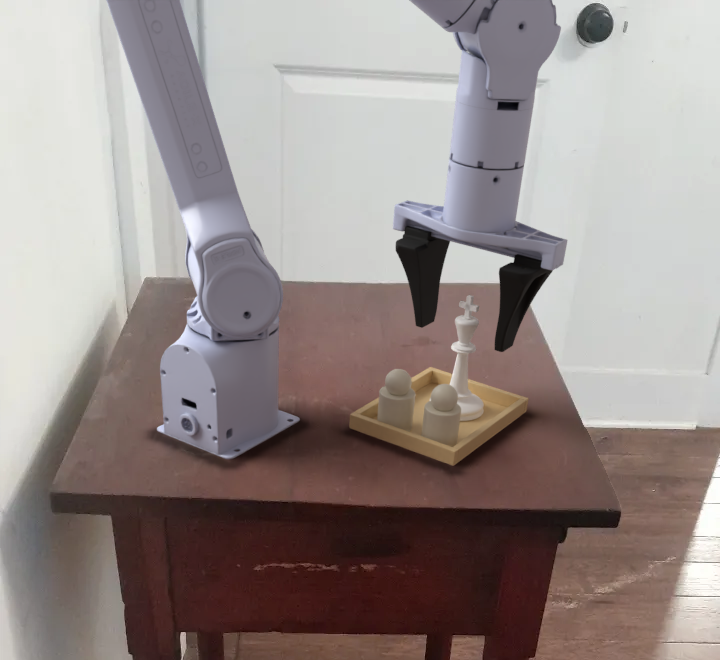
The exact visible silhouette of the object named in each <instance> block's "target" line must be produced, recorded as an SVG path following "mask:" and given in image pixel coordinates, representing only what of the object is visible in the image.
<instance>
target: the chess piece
mask: <svg viewBox="0 0 720 660" xmlns="http://www.w3.org/2000/svg"><path fill="white" fill-rule="evenodd" d="M474 298H475V296H474V295H471V294H468V295H466V299H465V300H460V301H459V302H458V308H461V309H464V314H461V315H458V316H456V317H455V318H454V324H455V328H456V335H457V339H458V340H457V341H454V342H452V344H451V346H450V350H452V351H453V352H454V353H456V358H455V362H454V366H453V369H452V370H453V371H452V373H451V374H452V378H451V381H450V385H451V386H452V387H454V388H455V390H456V392H457V394H458V401H457V404H458V405H459V406H460V407H461V416H460V421H469V420H474V419H477V418H479V417H480V416H481V415H482V414H483V412H484V410H483V406H484V404H483V401H482V400H481V399H480V398H479V397H478V396H476V395H475V394H472V393H471V391H470V390H469V389H468V379H469V355H471V354H474V353H475V352H476V351H477V346H476V345H475V343H473V342H471V341H472V339H473V337H474V335H475V333H476V330H477V329H478V327H479V325H480V319H478V318H477V317H476V316H473V315H472V313H473V312H474V313H478V312H479V311H480V305H479V304H475V303H474V300H475V299H474ZM430 401H431V397H430Z"/></svg>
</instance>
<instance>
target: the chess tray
mask: <svg viewBox="0 0 720 660" xmlns="http://www.w3.org/2000/svg"><path fill="white" fill-rule="evenodd" d="M452 374H453V373H451V372H448V371H445V370H442V369H439V368H436V367H433V366H429V367H427V368H426V369H424V370H423V371H421V372H419V373H417V374H416V375H414V376H412V377H411V381H412V384H411V389H413V390H414V391H415V403H414V413H413V423H412V429H411V431H410V432H408V431H406V430H403V429H400V428H397V427H394V426H392V425H389V424H386V423H383V422H380V421H377V416H378V403H379V396H378V397H377V398H375V399H374V400H372V401H370V402H368V403H366V404H365V405H363V406H362V407H360V408H358V409H357V410H355V411H353V412H351V413H350V414H349V423H348V424H349V429H351V430H354V431H357V432H360V433H362V434H365V435H367V436H370V437H373V438H375V439H378V440H382V441H384V442H387V443H390V444H392V445H395V446H398V447H401V448H403V449H405V450H409V451H411V452H415V453H417V454H420V455H422V456H425V457H427V458H431V459H433V460H436V461H439V462H441V463H444V464H447V465H450V466H455V465H457V464H458V463H459V462H460V461H462V460H463V459H465V458H466V457H467V456H469V455H470V454H471V453H472V452H474V451H475V450H476V449H478V448H479V447H481V446H482V445H483V444H485V443H486V442H487V441H489V440H490V439H492V438H493V437H494V436H495V435H497V434H498V433H499V432H501V431H502V430H503V429H505V428H507V427H508V426H509V425H510V424H512V423H513V422H514V421H516V420H517V419H518V418H520V417H521V416H523V415H524V414H525V413H527V410H528V406H529V400H530V398H529V397H526V396H523V395H519V394H517V393H513V392H511V391H507V390H504V389H502V388H498V387H494V386H491V385H489V384H485V383H482V382H480V381H477V380H473V379H470V378H468V389H469V390H470V391H471V393H472V394H475V395H476V396H478V397H479V398H480V399H481V400H482V401H483V404H484V406H483V410H484V412H483V414H482V415H481V416H480V417H479V418H477V419H474V420H469V421H460V424H459V431H458V439H457V444H456V445H455V446H454V447H450V446H448V445H445V444H442V443H439V442H436V441H434V440H431V439H428V438H425V437H422V436H421V435H422V425H423V416H424V407H425V404H426V403H427V402H429V401H430V397H431V393H432V391H433V389H434V388H435V387H436V386H438V385H440V384H449V385H450V381H451V378H452Z"/></svg>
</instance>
